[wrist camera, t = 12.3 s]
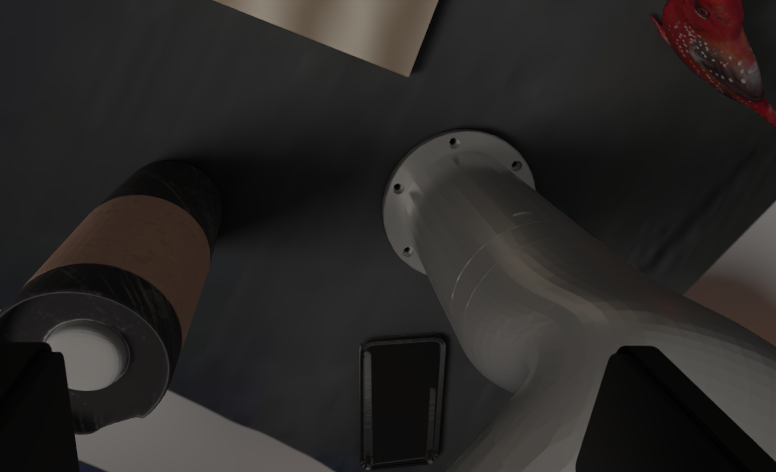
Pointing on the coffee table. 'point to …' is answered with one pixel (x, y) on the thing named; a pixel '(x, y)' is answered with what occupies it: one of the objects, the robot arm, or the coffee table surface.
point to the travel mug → (123, 292)
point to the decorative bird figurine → (716, 48)
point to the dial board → (353, 25)
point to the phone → (400, 399)
